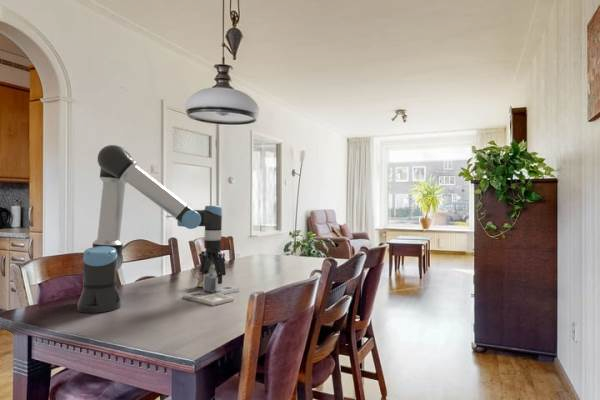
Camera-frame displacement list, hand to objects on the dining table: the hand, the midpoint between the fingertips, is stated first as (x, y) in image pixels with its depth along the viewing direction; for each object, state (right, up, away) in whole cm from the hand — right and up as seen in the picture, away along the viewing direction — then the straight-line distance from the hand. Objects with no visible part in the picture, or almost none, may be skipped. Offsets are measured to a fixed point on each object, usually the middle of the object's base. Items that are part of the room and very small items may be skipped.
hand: (212, 289), depth 182 cm
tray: (+4, -2, -12) cm, 13 cm away
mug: (-8, -2, +17) cm, 19 cm away
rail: (0, -2, 0) cm, 2 cm away
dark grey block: (0, -2, 0) cm, 2 cm away
